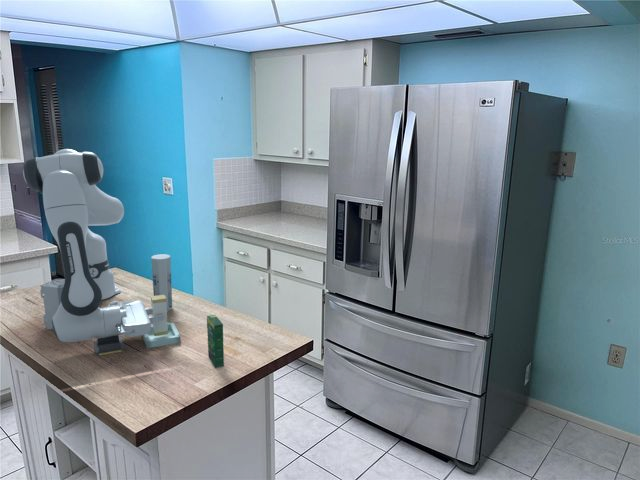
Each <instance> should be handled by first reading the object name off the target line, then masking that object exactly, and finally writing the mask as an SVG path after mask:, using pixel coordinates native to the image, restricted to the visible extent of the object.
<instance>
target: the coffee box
mask: <svg viewBox="0 0 640 480" xmlns="http://www.w3.org/2000/svg"><path fill="white" fill-rule="evenodd" d="M206 327H207V328H206V329H207V331H206V332H207V351H208V353H207V354H208V358H209V359H210V361H211V364H212V365H213V367H214V368H215V369H218V368H219V369H220V368H223V367H224V366H225V360H224V359H225V358H224V356H225V354H224V323H223V322H222V321H221V320H220V318H219V317H218V316H217V315H216V314H211V315H210V314H209V315H207V316H206Z"/></svg>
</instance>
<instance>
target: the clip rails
mask: <svg viewBox="0 0 640 480" xmlns="http://www.w3.org/2000/svg"><path fill="white" fill-rule="evenodd" d="M96 338H97V339H96V340H95V341H93V346H94V355H95V357H98V356H103V355H109V354H114V353H116V354H117V353H121V352H125V351H126V349H125V345H124V341H123V337H122V336H120V335H116V336H110V337H96Z"/></svg>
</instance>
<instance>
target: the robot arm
mask: <svg viewBox="0 0 640 480" xmlns="http://www.w3.org/2000/svg"><path fill="white" fill-rule="evenodd" d="M22 169H23V170H22V175H23V179H24V181H25V183H26V184H27V186H28V188H29V189H30V190H32V191H34V192H37V193H40V194H42V202H43V209H44V215H45V218H46V222H47V225H48V227H49V228H48V229H49V230H50V232H51V234H52V236H53V238H54V240H55V241H56V243H57V245H58V247H59V251H60V256H61V261H62V267H63V273H64V279H65V284H64V287H63V290H62V293H61V303H60V306H59V308H58V310H57V312H56V314H55V315H54V317H53V318H52V325H53V329H52V330H53V333H54V335H55V338H56V339H58V340H59V341H60V342H62V343H73V342H74V343H76V342H84V341H90V340H92V339H94V338H95V339H96V338H97V337H110V336H116V335H119V336H120V335H122V336H123V335H124V336H125V337H139V336H141V337H142V335H147V334H150V333H151V325H153V323H156V322H158V321H162V320H164V315H163V314H162V313H161V314H157V315H155V316H152V307H145V304H144V302H143V301H142V300H126V301H125V300H124V301H120V302H119V301H117V300H114V301H110V303H109V304H108V305H107V306H106V307H100V306H101V303H102V300H106V299H109V298H111V297H113V296H114V295H117V294H120V293H121V292H122V291H121V289H120V288H119V287H118V286H117V285H116V284H115V274H114V273H113V271H111V270H110V262H109V259H108V255H107V253H108V252H107V242H106V240H105V238H104V237H102V236H101V235H100V234H97V233H94V232H93V231H91V229H89V226H90V227H91V226H93V227H94V226H96V227H97V226H110V225H115V224H119V223H120V222H121V221H122V220H123V217H124V215H125V208H124V205H123V203H122V201H121V200H120V199H118V198H117V197H113V196H111V195H109V194H108V193H106V192H104V191H103V190H101V189H100V188H99V187H98V186H97V184H99V183H100V182H101V181H102V180H103V176H104V166H103V162H102V161H101V159H100V158H99V156H98V155H97V154H96V153H94V152H91V151H82V152H78V151H76V150H74V149H70V148H63V149H60V150H58V151H56V152H55V153H54V154H49V155H45V156H41V157H38V156H36V157H32V158H29V159H27V160H26V161H25V162H24V164H23V168H22Z"/></svg>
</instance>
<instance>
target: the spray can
mask: <svg viewBox="0 0 640 480" xmlns="http://www.w3.org/2000/svg"><path fill="white" fill-rule="evenodd" d="M150 258H151V260H150V261H151V272H152V274H151V275H152V288H153V289H152V290H153V296H158V295H165V297H166V301H167V302H166V305H167V312H169V311H172V309H173V291H172V288H173V287H172V268H171V267H172V266H171V265H172V264H171V263H172V262H171V255H170V254H166V253H165V254H161V253H160V254H159V253H158V254H154V255H152V256H151V257H150Z"/></svg>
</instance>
